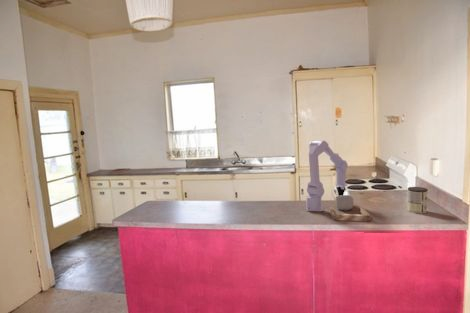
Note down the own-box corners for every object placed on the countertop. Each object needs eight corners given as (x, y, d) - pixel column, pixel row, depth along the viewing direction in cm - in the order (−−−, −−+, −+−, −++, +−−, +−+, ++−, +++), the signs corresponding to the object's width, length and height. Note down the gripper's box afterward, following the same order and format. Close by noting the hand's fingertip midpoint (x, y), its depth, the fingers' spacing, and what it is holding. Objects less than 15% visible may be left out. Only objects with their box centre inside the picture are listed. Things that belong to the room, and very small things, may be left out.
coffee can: (407, 208, 197) (407, 186, 196) (426, 210, 193) (426, 187, 191) (407, 212, 188) (407, 189, 187) (427, 214, 184) (428, 190, 182)
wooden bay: (333, 220, 177) (333, 215, 177) (329, 211, 194) (329, 207, 194) (370, 221, 174) (370, 215, 174) (363, 212, 191) (363, 207, 190)
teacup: (354, 212, 192) (354, 199, 192) (336, 211, 195) (336, 198, 194) (351, 206, 206) (351, 194, 205) (333, 205, 208) (333, 193, 207)
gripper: (349, 179, 202) (349, 200, 203) (345, 176, 216) (344, 195, 218) (338, 179, 203) (337, 200, 204) (334, 176, 217) (334, 195, 219)
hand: (340, 197), depth 211 cm, fingers closed
